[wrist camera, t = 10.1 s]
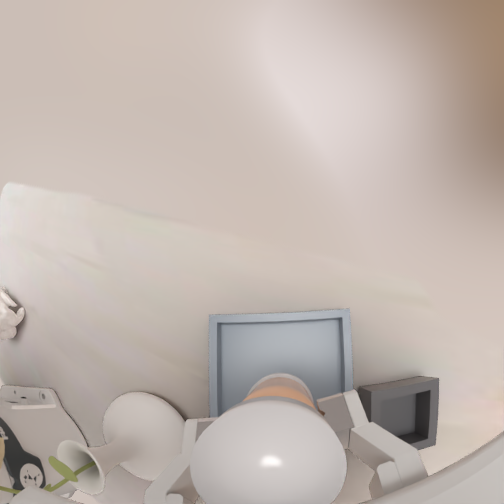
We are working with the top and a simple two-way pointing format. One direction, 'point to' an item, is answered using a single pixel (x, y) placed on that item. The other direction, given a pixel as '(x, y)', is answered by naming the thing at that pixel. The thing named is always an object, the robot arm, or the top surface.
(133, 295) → the top surface
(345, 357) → the parts tray
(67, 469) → the flower in vase
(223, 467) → the tan bottle
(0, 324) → the white lumpy oval piece
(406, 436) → the socket block
